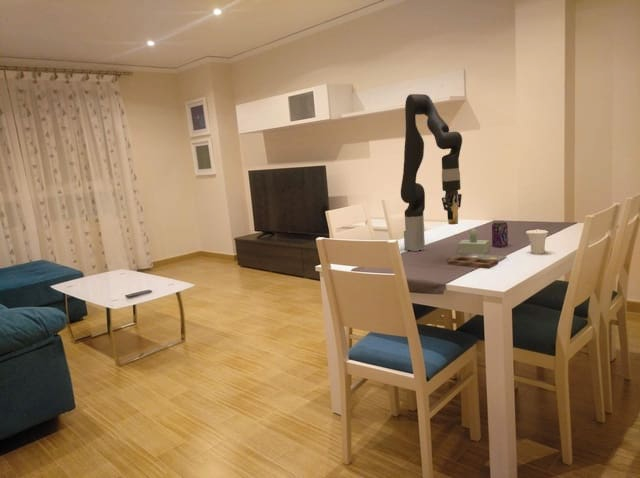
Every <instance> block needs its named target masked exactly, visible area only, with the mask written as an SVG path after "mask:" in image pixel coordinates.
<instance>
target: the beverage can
mask: <svg viewBox="0 0 640 478" xmlns="http://www.w3.org/2000/svg"><path fill="white" fill-rule="evenodd" d="M508 229H509V227H508V224H507V221H505V220H497V221H495V220H494V221H492V224H491V246H493V247H496V248H505V247H507V246H508V245H509V242H508V241H509V239H508V238H509V237H508V234H509V233H508Z"/></svg>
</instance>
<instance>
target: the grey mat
mask: <svg viewBox="0 0 640 478" xmlns="http://www.w3.org/2000/svg"><path fill="white" fill-rule="evenodd" d="M464 257H471V258H482V259H493V260H498V263H499V262H501V261H503V260H505V259H507V257H508V256H505V255H493V254H474V253H472V254H468V255H465V256H464Z"/></svg>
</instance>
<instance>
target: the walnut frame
mask: <svg viewBox="0 0 640 478" xmlns="http://www.w3.org/2000/svg"><path fill="white" fill-rule="evenodd" d="M447 263H448V265H451V264H452V265H453V266H460V265H461V266H463V267H469V268H470V267H471V268H480V269H491V268H493V267H495V266H497V265H498V264H499V262H498V260H493V259H482V258H471V257H465V256H459V255H457V256H455V257H453V258H451V259H449V260H447Z"/></svg>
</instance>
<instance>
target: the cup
mask: <svg viewBox="0 0 640 478" xmlns="http://www.w3.org/2000/svg"><path fill="white" fill-rule="evenodd" d="M525 233H526V235H527V237H528V240H529V243H530V253H531V254H533V255H544V254H545V253H546V250H545V247H546V240H547V237H548V236H547V235H548V234H549V231H548V230H545V229H538V228H537V229H532V230H526V232H525Z"/></svg>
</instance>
